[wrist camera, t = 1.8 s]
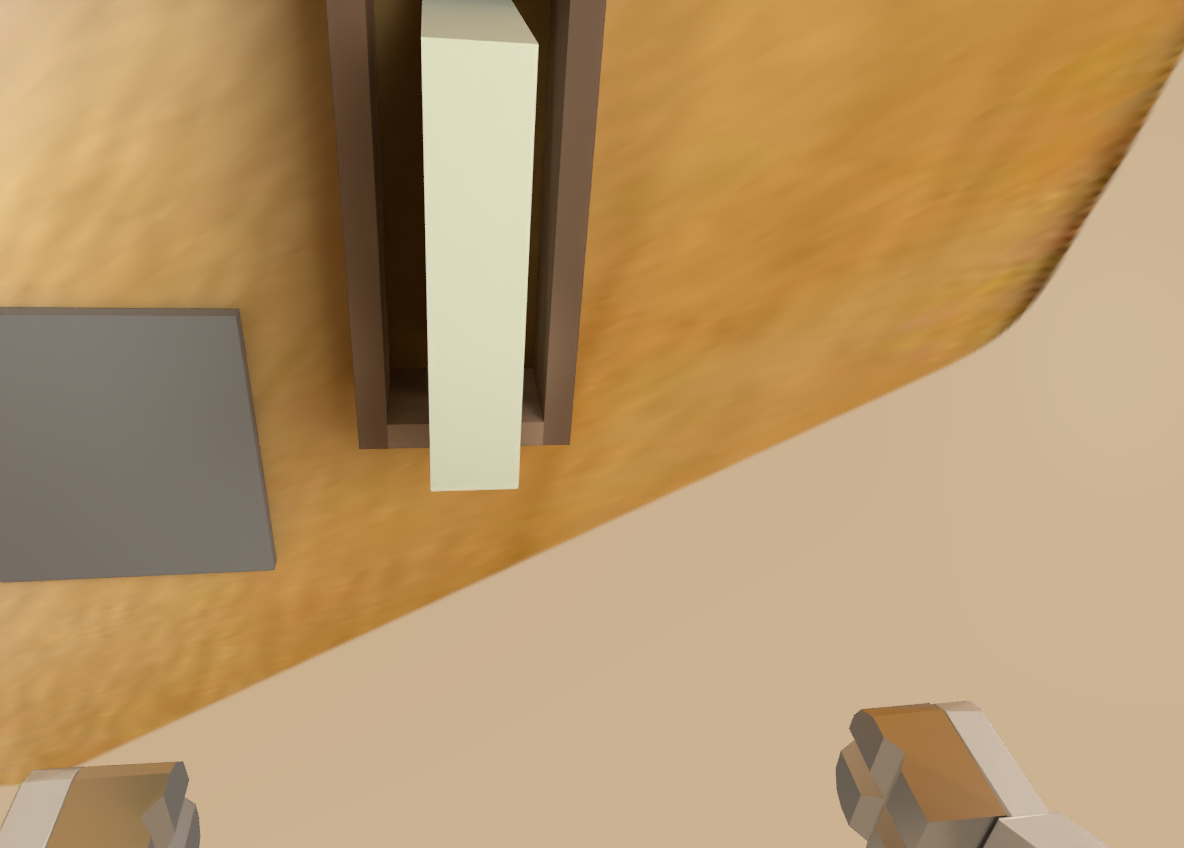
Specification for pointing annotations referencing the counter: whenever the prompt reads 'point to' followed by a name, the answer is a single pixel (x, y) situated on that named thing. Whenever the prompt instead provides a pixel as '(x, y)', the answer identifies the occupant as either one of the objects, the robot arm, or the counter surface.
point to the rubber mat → (128, 445)
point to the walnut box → (401, 396)
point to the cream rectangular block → (476, 234)
